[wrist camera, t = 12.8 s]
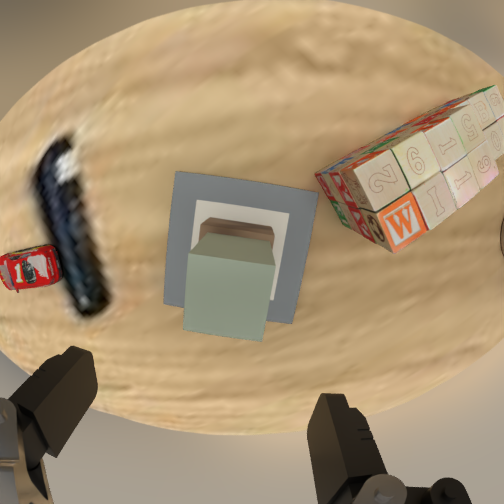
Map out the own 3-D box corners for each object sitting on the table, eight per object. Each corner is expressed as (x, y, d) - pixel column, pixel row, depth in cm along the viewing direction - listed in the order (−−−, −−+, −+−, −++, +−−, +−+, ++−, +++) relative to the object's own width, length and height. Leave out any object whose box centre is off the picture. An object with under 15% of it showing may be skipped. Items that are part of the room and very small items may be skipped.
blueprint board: (316, 192, 28) (332, 195, 22) (290, 319, 31) (297, 348, 25) (178, 171, 28) (159, 169, 22) (166, 300, 31) (148, 325, 25)
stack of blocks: (449, 99, 25) (516, 78, 13) (470, 144, 26) (540, 140, 14) (312, 174, 28) (352, 168, 16) (341, 227, 29) (394, 256, 17)
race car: (11, 286, 32) (-5, 295, 28) (3, 252, 30) (-15, 259, 26) (69, 282, 31) (51, 293, 27) (59, 241, 30) (40, 248, 26)
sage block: (269, 241, 23) (275, 266, 16) (260, 298, 24) (261, 341, 17) (207, 232, 23) (188, 253, 16) (201, 290, 24) (182, 329, 17)
